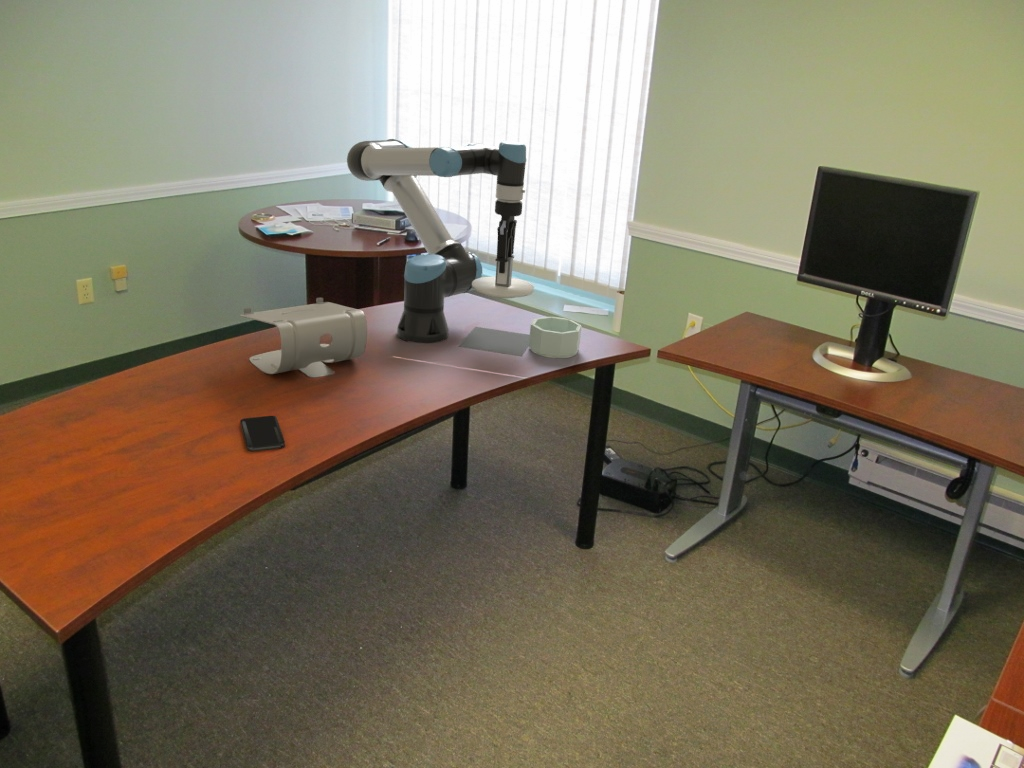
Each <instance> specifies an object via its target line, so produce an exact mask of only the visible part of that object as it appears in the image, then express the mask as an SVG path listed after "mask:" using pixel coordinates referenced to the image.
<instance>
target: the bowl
mask: <svg viewBox="0 0 1024 768" xmlns="http://www.w3.org/2000/svg"><path fill="white" fill-rule="evenodd" d="M581 333H582V325H581V324H580V323H578V322H576V321H574V320H572V319H570V318H565V317H558V316H544V317H543V316H542V317H536V318H535V317H534V318H533V320H532V322H531V323H530V327H529V335H530V338H529V346H528V348H529V349H530V351H531V352H532V353H534V354H536V355H538V356H541V357H545V358H551V359H568V358H572V357H574V356H577V355H578V351H579V348H580V342H581V335H582V334H581Z"/></svg>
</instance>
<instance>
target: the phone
mask: <svg viewBox="0 0 1024 768" xmlns="http://www.w3.org/2000/svg"><path fill="white" fill-rule="evenodd" d="M240 427H241V431H242V436H243V438H244V439H243V440H244V443H245V448H246V450H247V452H252V453H253V452H262V451H263V452H264V451H271V450H273V451H274V450H279V449H280V450H281V449H284V448H285V447H286V441H285V439H284V435H283V431H282V428H281V426H280V424H279V421H278V417H277V416H275V415H266V416H265V415H264V416H255V417H244V418H242V419H240Z"/></svg>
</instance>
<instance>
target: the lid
mask: <svg viewBox="0 0 1024 768" xmlns="http://www.w3.org/2000/svg"><path fill="white" fill-rule="evenodd" d="M507 262H508V271H507V284H499V283H497V273H498V261H496V266H495V267H496V268H495V269H496V270H495V275H493V276H483V277H482V278H478V279H475V280H474V281H473V282H472V288H473V291H475V292H477V293H479V294H482V295H486V296H490V297H492V298H496V299H497V298H498V299H515V298H522V297H528V296H531V295H532V294H533V293H534V292H535V286H534V284H532V283H531V282H529V281H526V280H524V279H520V278H514V277H512V275H513V262H514V258H512V257H508V258H507Z"/></svg>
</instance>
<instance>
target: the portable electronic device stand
mask: <svg viewBox="0 0 1024 768" xmlns="http://www.w3.org/2000/svg"><path fill="white" fill-rule="evenodd" d="M315 300H316V303H311V304H304V305H297V306H290V307H283V308H275V309H267V310H262V311H253V312H252V308H251V307H246V308H243V313H241V314H240V315H239V317H242V318H247V319H251V320H255V321H259V322H262V323H266V324H270V325H272V326H273V325H274V326H275V327H277V329H278V331H279V334H280V335H279V336H280V344H281V345H280V346H281V347H280V349H277V350H271V351H267V352H263V353H259V354H256V355H252V356H250V357H249V361H250V363H251V364H252V365H253V366H255V367H256V368H257V369H258V370H259V371H261V372H262V373H264V374H266V375H274V374H275V375H276V374H279V373H280V374H281V373H285V372H291V371H296V370H298V371H299V372H301V373H302V374H303V375H304V376H306V377H308V378H310V379H318V378H323V377H328V376H332V375H334V374H335V371H334V370H333V369H332V368H330V367H329V366H327V365H326V364H332V363H338V362H344V361H348V360H353V359H358V358H361V357H362V356H363V354H364V352H365V351H366V350H365V349H366V347H367V339H368V324H367V323H368V321H367V317H366V314H365V313H364V311H363V310H361V309H357V308H353V307H349V306H345V305H342V304H338V303H334V302H330V301H324V297H316V299H315ZM324 335H329V336H331V337H330V338H331V342H330V344H329V343H320V340H321V338H322V337H323V336H324Z"/></svg>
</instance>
